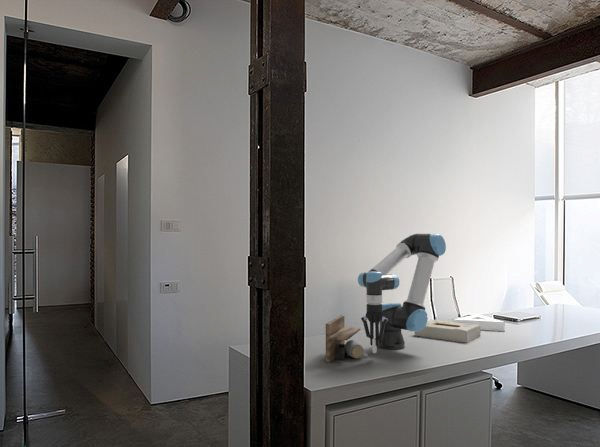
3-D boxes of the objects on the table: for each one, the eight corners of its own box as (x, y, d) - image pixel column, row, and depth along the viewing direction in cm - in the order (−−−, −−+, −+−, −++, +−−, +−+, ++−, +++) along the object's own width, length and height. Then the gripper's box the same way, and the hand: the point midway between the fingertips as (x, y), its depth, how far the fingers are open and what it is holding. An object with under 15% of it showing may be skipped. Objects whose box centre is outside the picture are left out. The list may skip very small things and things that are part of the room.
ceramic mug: (351, 360, 232) (351, 343, 232) (343, 356, 239) (344, 340, 240) (370, 358, 235) (370, 342, 236) (362, 354, 243) (362, 339, 243)
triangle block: (454, 329, 310) (454, 319, 310) (454, 322, 334) (454, 313, 334) (504, 332, 300) (504, 321, 300) (501, 324, 325) (501, 315, 325)
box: (413, 336, 288) (467, 343, 268) (413, 323, 288) (467, 329, 268) (429, 331, 306) (480, 337, 286) (429, 318, 306) (480, 324, 287)
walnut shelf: (360, 351, 249) (360, 316, 249) (347, 364, 224) (347, 325, 225) (340, 349, 252) (340, 315, 253) (325, 362, 228) (325, 323, 228)
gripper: (359, 303, 232) (359, 352, 232) (385, 305, 227) (386, 355, 227) (363, 301, 239) (363, 349, 239) (389, 303, 234) (389, 351, 234)
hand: (374, 352), depth 233 cm, fingers closed
